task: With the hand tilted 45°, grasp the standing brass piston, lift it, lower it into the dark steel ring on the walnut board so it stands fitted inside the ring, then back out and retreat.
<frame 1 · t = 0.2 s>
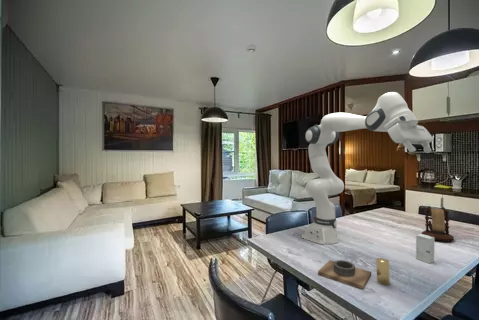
hand: (421, 151, 88), 53 cm above the table, tool tilted 30°, fingers open, 8 cm apart
skincare box: (425, 260, 110), on the table
ring holder: (344, 274, 98), on the table
piston: (383, 282, 92), on the table
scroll: (437, 239, 137), on the table
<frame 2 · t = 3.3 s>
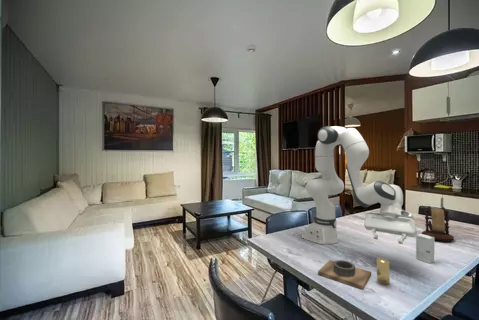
hand: (387, 240, 100), 14 cm above the table, tool tilted 45°, fingers open, 8 cm apart
nothing on the table moved.
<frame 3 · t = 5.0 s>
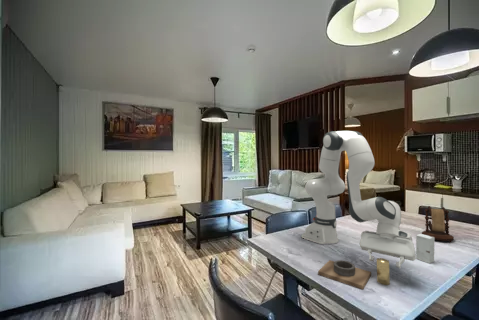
hand: (384, 263, 93), 7 cm above the table, tool tilted 45°, fingers open, 8 cm apart
nothing on the table moved.
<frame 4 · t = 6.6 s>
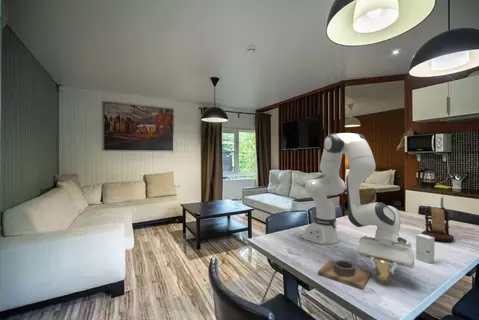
hand: (382, 270, 91), 5 cm above the table, tool tilted 45°, fingers closed on piston, 4 cm apart
piston: (383, 282, 92), on the table, touching gripper
everything else where it was.
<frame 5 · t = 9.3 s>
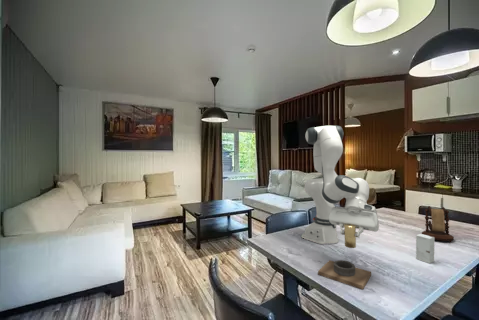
hand: (349, 235, 97), 18 cm above the table, tool tilted 45°, fingers closed on piston, 4 cm apart
piston: (350, 246, 97), point 13 cm above the table, touching gripper
everything else where it was.
when the fingers open (7 cm above the table, at t = 12.0 s): piston stays where it is, resting on ring holder.
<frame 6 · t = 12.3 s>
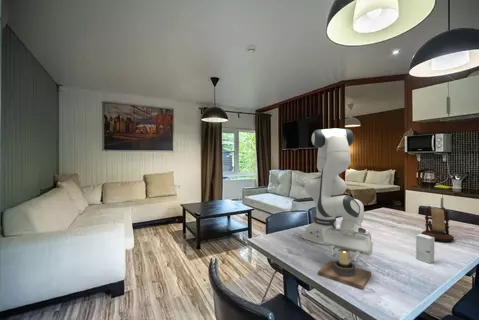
hand: (343, 258, 98), 7 cm above the table, tool tilted 45°, fingers open, 7 cm apart
piston: (344, 271, 98), point 2 cm above the table, touching ring holder
everything else where it was.
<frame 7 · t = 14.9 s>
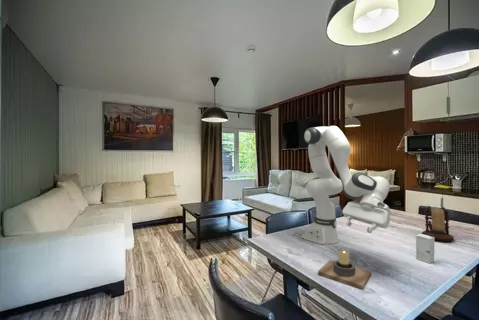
hand: (358, 228, 103), 19 cm above the table, tool tilted 45°, fingers open, 8 cm apart
nothing on the table moved.
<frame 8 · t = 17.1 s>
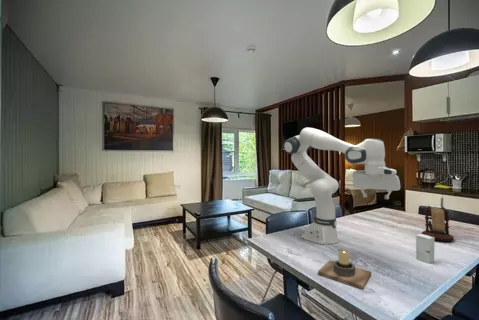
hand: (375, 198, 111), 31 cm above the table, tool pointing down, fingers open, 8 cm apart
nothing on the table moved.
at the end: piston 0.0 cm off-centre on the ring holder, point 1.5 cm above the ring holder's base; piston tilted 0°; the gripper is holding nothing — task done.
